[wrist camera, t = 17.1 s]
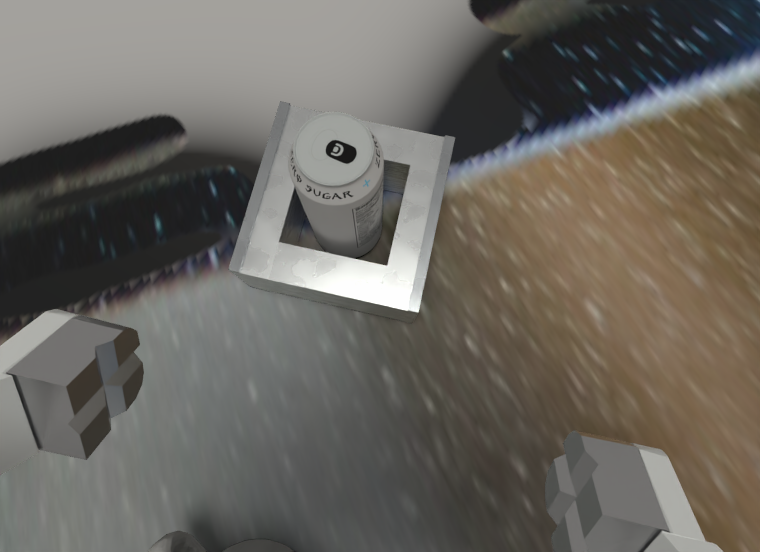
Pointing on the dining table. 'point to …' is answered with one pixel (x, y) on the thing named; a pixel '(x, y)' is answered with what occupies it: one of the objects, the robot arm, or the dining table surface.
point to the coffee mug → (183, 548)
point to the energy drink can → (339, 182)
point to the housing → (334, 272)
